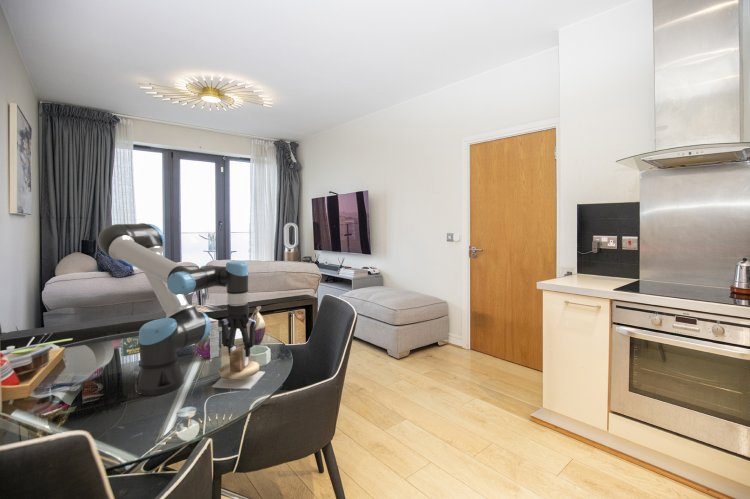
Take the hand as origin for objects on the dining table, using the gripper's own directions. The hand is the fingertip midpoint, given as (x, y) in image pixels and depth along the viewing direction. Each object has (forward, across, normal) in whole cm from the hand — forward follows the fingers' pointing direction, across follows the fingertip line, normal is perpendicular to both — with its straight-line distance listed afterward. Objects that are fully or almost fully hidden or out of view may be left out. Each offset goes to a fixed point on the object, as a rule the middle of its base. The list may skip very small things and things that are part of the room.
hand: (239, 364), depth 136 cm
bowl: (+6, +1, -17) cm, 18 cm away
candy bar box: (+6, +25, -21) cm, 33 cm away
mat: (+6, 0, 0) cm, 6 cm away
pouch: (+6, +9, -36) cm, 38 cm away
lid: (+3, 0, 0) cm, 3 cm away
